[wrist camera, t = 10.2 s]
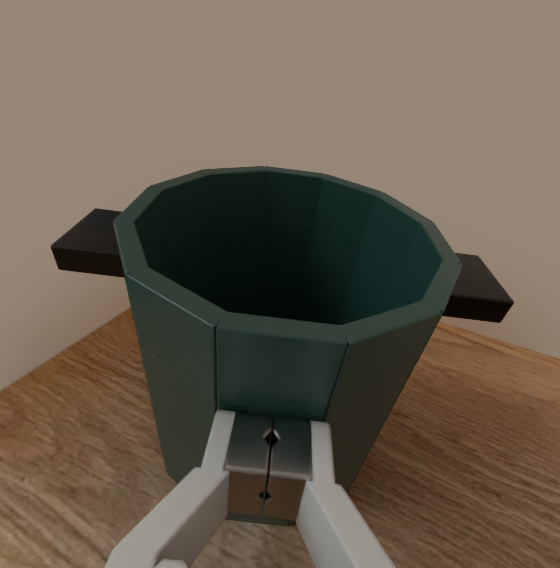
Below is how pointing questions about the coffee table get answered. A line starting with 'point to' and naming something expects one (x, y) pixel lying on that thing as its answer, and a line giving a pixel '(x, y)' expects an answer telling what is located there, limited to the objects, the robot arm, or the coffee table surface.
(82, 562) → the coffee table surface
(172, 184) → the pot
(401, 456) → the coffee table surface
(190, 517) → the robot arm
